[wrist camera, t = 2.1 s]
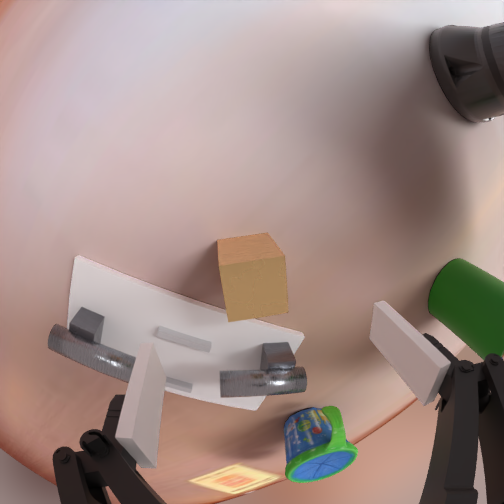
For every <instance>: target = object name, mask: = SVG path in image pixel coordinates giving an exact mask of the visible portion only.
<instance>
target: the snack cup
mask: <svg viewBox="0 0 504 504" xmlns="http://www.w3.org/2000/svg"><path fill="white" fill-rule="evenodd" d="M284 436H285V450H286V461H287V465H286V468H285V470H286V471H285V476H286V477H287V478H288V479H289V480H291V481H293V482H298V483H304V482H313V481H318V480H321V479H324V478H327V477H330V476H332V475H335V474H336V473H339V472H340V471H342V470H344V469H345V468H347V467H348V466H349V465H351V464H352V463H353V461H354V460H355V459H356V457H357V453H358V450H357V448H356V447H355V446H354V445H353V444H351V443H350V442H348V441H347V440H346V436H345V429H344V425H343V421H342V417H341V413H340V410H339V409H338V408H337V407H334V406H327V407H323V408H322V409H317V408H314V407H313V408H310V409H306V410H302V411H300V412H297V413H296V414H294V415H291V416H290V417H289V419H288V420H287V421H286V423H285V426H284Z"/></svg>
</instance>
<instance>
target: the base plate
mask: <svg viewBox="0 0 504 504" xmlns="http://www.w3.org/2000/svg"><path fill="white" fill-rule="evenodd" d="M81 307H84V308H86V309H88V310H91V311H93V312H95V313H98V314H100V315H102V316H105V318H104V324H103V330H102V337H101V344H103V345H106V346H108V347H111V348H113V349H116V350H118V351H121V352H123V353H126V354H129V355H132V356H134V357H137V354H138V350H139V347H140V344H141V343H151V342H153V344H154V346H155V349H156V352H157V354H158V357H159V360H160V362H161V365H162V367H163V370H164V372H165V375H166V384H165V391H168V392H171V393H175V394H179V395H182V396H186V397H190V398H194V399H198V400H203V401H207V402H211V403H216V404H221V405H226V406H231V407H236V408H242V409H248V410H254V411H256V410H257V409H258V407H259V406H260V404H261V403H262V402H263V400H264V399H265V397H266V396H253V397H226V398H221V397H220V378H219V372H220V371H230V370H260V364H261V355H262V346H263V343H278V342H288V343H289V345H290V347H291V350H292V352H293V354H295V352H296V351H297V349H298V347H299V346H300V344H301V343H302V341H303V339H304V338H305V336H304V334H303V332H299V331H296V330H292V329H288V328H285V327H281V326H278V325H274V324H271V323H267V322H264V321H260V320H257V319H247V320H241V321H234V322H228V318H227V312H226V310H225V309H222V308H218V307H215V306H212V305H209V304H206V303H203V302H200V301H197V300H194V299H192V298H189V297H186V296H183V295H180V294H177V293H174V292H172V291H169V290H166V289H163V288H161V287H158V286H155V285H152V284H150V283H147V282H145V281H142V280H139V279H137V278H134V277H131V276H129V275H126V274H124V273H121V272H119V271H116V270H114V269H111V268H109V267H107V266H104V265H102V264H99V263H97V262H95V261H92V260H90V259H87V258H85V257H83V256H80V255H78V256H76V257H75V260H74V266H73V272H72V280H71V287H70V296H69V306H68V318H67V329H69V323H70V322H71V320H72V319H73V317H74V316H75V315H76V313H77V312H78V311H79V310H80V308H81Z"/></svg>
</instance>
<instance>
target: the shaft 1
mask: <svg viewBox="0 0 504 504" xmlns="http://www.w3.org/2000/svg"><path fill="white" fill-rule="evenodd" d="M104 318H105V316H102V315H100V314H98V313H95V312H93V311H91V310H88V309H86V308H84V307H81V308H80V310H79V311H78V312H77V313H76V315H75V316H74V317H73V319H72V320H71V322H70V323H69V329H67V328H65V327H63V326H61V325H59V324H55V325H54V326H53V328H52V330H51V332H50V335H49V339H48V348H49V349H51V350H53V351H55V352H57V353H59V354H61V355H63V356H65V357H67V358H69V359H71V360H73V361H75V362H78V363H80V364H82V365H84V366H87V367H89V368H91V369H94V370H96V371H98V372H101V373H103V374H106V375H108V376H111V377H114V378H116V379H119V380H122V381H124V382H127V383H129V381H130V377H131V374H132V370H133V367H134V363H135V360H136V357H134V356H132V355H129V354H126V353H123V352H121V351H118V350H116V349H113V348H111V347H108V346H106V345H103V344H101V337H102V330H103V324H104Z"/></svg>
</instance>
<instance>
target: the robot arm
mask: <svg viewBox="0 0 504 504" xmlns="http://www.w3.org/2000/svg"><path fill="white" fill-rule="evenodd" d="M430 56H431V61H432V65H433V68H434V71H435V74H436V77H437V79H438V81H439V84H440V86H441V88H442V90H443V91H444V93H445V95H446V97H447V98H448V100H449V101H450V103H451V104H452V105H453V107H454V108H455V109H456V110H457V111H458V112H459V113H460V114H461V115H462V116H463V117H464V118H466V119H468V120H470V121H472V122H488V121H491V120H493V119H494V118H495V117H497V116H501V115H504V22H503V23H499V24H495V25H491V26H487V27H483V28H479V27H469V26H455V25H448V26H444V27H442V28H439V29H437V30H435V31H434V32H433V34H432V35H431V38H430ZM369 339H370V340H371V341H372V343H373V344H374V345H375V346H376V347H377V349H378V350H379V351H380V352H381V353H382V355H383V356H384V357H385V358H386V359H387V361H388V362H389V363H390V364H391V366H392V367H393V368H394V369H395V371H396V372H397V373H398V374H399V375H400V377H401V378H402V379H403V380H404V382H405V383H406V384H407V385H408V387H409V388H410V389H411V391H412V392H413V393H414V394H415V396H416V397H417V398H418V399H419V401H420V402H421V403H422V404H423V406H425V405H427V404H429V403H430V402H432V401H434V400H435V398H436V396H437V394H438V393H439V394H440V395H441V398H440V400H439V402H438V404H437V406H436V408H435V410H437V408H438V407H439V411H438V420H437V427H436V434H435V440H434V446H433V451H432V457H431V461H430V466H429V470H428V474H427V478H426V482H425V486H424V489H423V493H422V496H421V499H420V503H419V504H477V498H478V492H477V490H476V489H474V487H473V485H474V478H475V471H476V461H477V451H478V436H479V441H480V446H481V452H482V457H483V464H484V473H485V482H486V495H487V504H504V361H503V359H502V358H501V356H499V355H497V354H495V353H490V354H488V355H487V356H486V357H485V359H484V362H481V363H478V364H473V363H472V362H470V361H467V360H461V361H459V360H458V359H457V358H456V357H455V356H454V355H453V354H452V353H451V352H449V351H448V350H447V349H446V348H445V347H443V345H442V344H441V343H439V341H438V340H436V339H435V338H434V337H433V336H431V335H429V334H427V333H425V334H423V335H422V334H421V333H420V332H418V331H417V330H416V329H415V328H414V327H413V326H412V325H411V324H410V323H409V322H408V321H407V320H405V319H404V318H403V317H402V316H401V315H400V314H399V313H398V312H397V311H395V310H394V309H393V308H392V307H391V306H390V305H389V304H388V303H386V302H385V301H384V300H383V301H380V302H376V303H374V306H373V315H372V323H371V330H370V337H369ZM165 384H166V375H165V372H164V370H163V367H162V365H161V362H160V360H159V357H158V354H157V352H156V349H155V346H154V344H153V342H151V343H141V344H140V347H139V350H138V354H137V357H136V360H135V363H134V367H133V370H132V374H131V377H130V381H129V384H128V388H127V391H126V395H115V397H114V398H113V399H112V400H111V402H110V405H109V408H108V412H107V415H106V418H105V422H104V425H103V429H102V431H100V430H97V429H91V430H89V431H86V432H85V433H84V434H83V435H82V436H81V438H80V446H81V448H82V449H83V450H84V451H79V452H74V451H73V450H72V449H71V448H69V447H60V448H58V449H57V450H56V451H55V452H54V454H53V466H54V472H55V477H56V483H57V487H58V492H59V496H60V501H61V504H111V501H110V499H109V496H108V493H107V491H106V488H105V486H109V488H110V489H111V490H112V492H113V493H114V495H115V496H116V497H117V499H118V500H119V502H120V503H121V504H166V503H165V502H164V501H163V499H162V498H161V497H160V496H159V495H158V494H157V493H156V492H155V491H154V490H153V489H152V488H151V486H150V485H149V484H148V483H147V482H146V481H145V480H144V478H143V477H142V476H141V475H140V474H139V472H138V471H137V470H136V463H137V464H138V465H139V466H140V467H141V468H156V467H157V454H158V443H159V433H160V424H161V415H162V406H163V399H164V391H165ZM490 391H491V392H490Z"/></svg>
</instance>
